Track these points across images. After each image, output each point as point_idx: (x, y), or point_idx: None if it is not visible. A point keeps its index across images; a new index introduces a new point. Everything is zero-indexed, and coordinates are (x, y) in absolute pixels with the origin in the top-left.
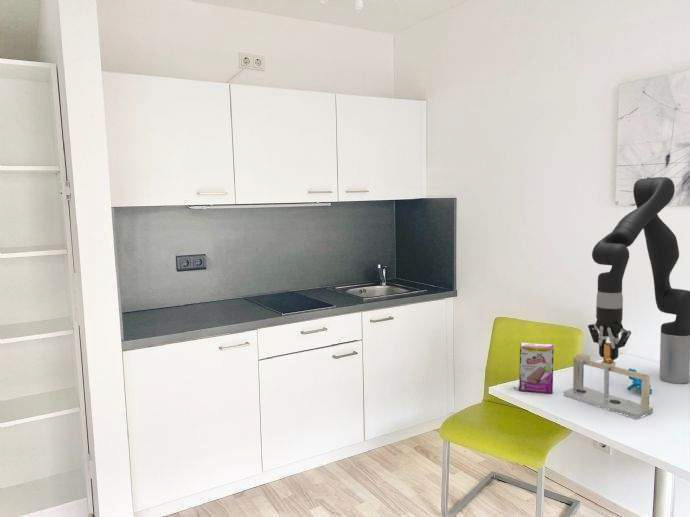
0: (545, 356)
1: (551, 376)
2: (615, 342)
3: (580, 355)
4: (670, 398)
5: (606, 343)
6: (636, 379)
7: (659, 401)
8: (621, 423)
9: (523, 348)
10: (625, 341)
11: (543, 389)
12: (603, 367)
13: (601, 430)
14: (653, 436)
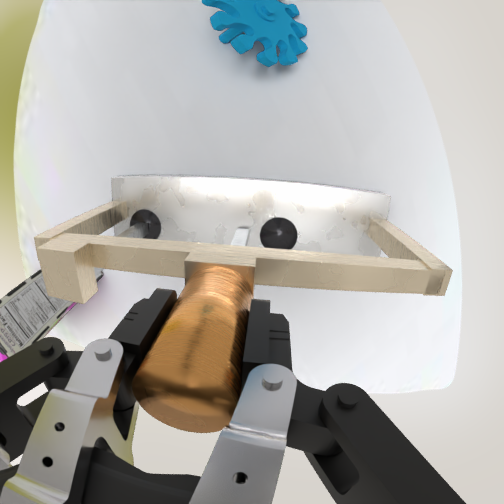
0: None
1: (73, 303)
2: (248, 418)
3: (56, 286)
4: (362, 27)
5: (158, 400)
6: (259, 29)
7: (355, 73)
8: (345, 330)
9: None
10: (390, 451)
11: None
12: None
13: (323, 385)
14: (415, 337)
